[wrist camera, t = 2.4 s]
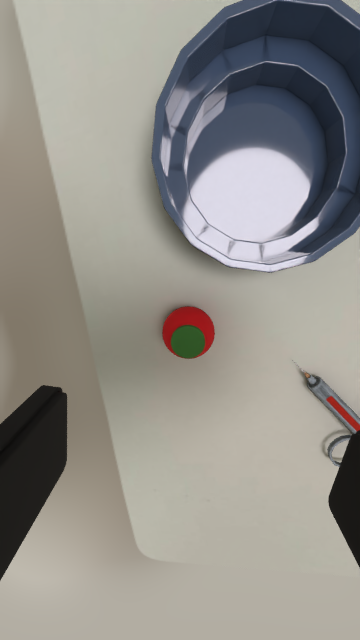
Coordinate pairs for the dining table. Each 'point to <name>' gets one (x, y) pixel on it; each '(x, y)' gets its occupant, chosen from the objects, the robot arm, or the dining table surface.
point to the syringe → (334, 409)
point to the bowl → (264, 133)
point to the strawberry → (188, 332)
